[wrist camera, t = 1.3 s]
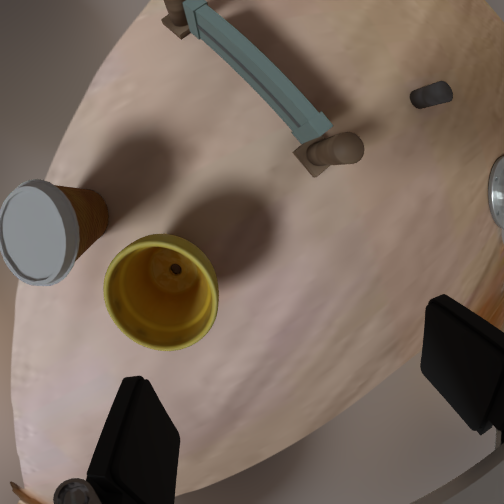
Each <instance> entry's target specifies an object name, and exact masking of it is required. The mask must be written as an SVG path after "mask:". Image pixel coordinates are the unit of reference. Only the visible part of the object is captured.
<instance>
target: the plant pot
mask: <svg viewBox="0 0 504 504" xmlns="http://www.w3.org/2000/svg"><path fill="white" fill-rule="evenodd" d="M173 264H177V265H179V266H180V267H181V272H180V273H179V274H175V273H173V272H172V271H171V265H173ZM103 289H104V300H105V304H106V307H107V310H108V312H109V314H110V316H111V318H112V320H113V321H114V323H115V324H116V325H117V327H118V328H119V329H120V330H121V331H122V332H123V333H124V334H125V335H126V336H127V337H129V338H130V339H131V340H133V341H134V342H136V343H138V344H140V345H142V346H145V347H147V348H150V349H154V350H160V351H174V350H180V349H183V348H186V347H189V346H191V345H193V344H195V343H196V342H198V341H199V340H201V339H202V338H203V337H204V336H205V335H206V334H207V333H208V331H209V330H210V329H211V327H212V325H213V323H214V321H215V319H216V316H217V311H218V302H219V290H218V282H217V277H216V273H215V271H214V268H213V266H212V264H211V262H210V261H209V259H208V258H207V257H206V255H205V254H204V253H203V252H202V251H201V250H200V249H199V248H198V247H197V246H195V245H194V244H193V243H191V242H189V241H187V240H185V239H183V238H181V237H178V236H175V235H170V234H153V235H148V236H145V237H143V238H140V239H138V240H136V241H134V242H133V243H131V244H130V245H128V246H127V247H125V248H124V249H123V250H122V251H121V252H119V253H118V254H117V255H116V257H115V258H114V259H113V260H112V262H111V263H110V265H109V267H108V269H107V272H106V275H105V279H104V288H103Z"/></svg>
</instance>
